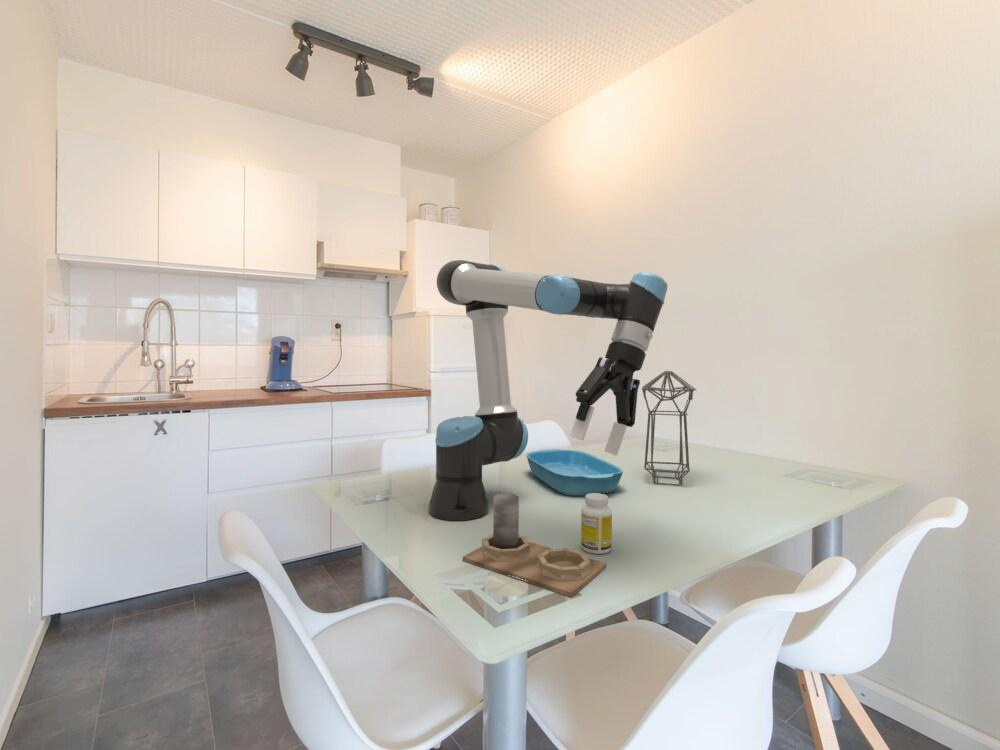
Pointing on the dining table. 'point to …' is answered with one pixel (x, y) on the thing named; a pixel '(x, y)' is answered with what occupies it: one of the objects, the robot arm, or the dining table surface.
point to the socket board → (531, 554)
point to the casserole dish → (574, 471)
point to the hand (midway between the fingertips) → (594, 446)
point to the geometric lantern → (648, 388)
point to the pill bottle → (596, 524)
